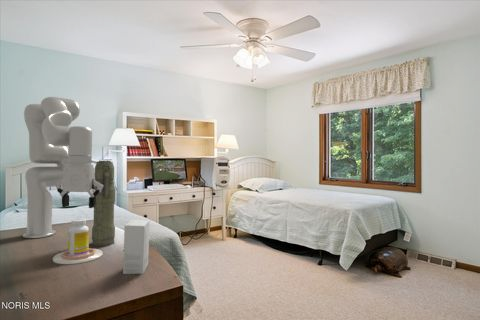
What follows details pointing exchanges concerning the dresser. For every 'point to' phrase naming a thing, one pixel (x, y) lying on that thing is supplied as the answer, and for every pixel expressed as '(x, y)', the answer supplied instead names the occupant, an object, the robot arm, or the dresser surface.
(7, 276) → the dresser surface
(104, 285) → the dresser surface
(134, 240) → the skincare box
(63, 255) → the ring stand
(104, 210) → the olive tall rounded piece
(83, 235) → the supplement bottle
